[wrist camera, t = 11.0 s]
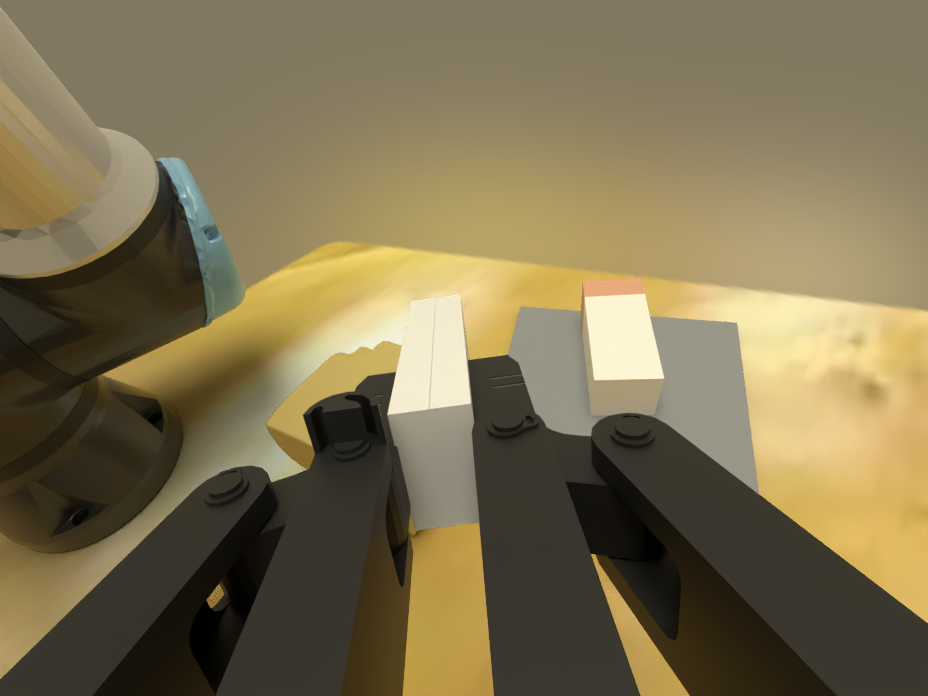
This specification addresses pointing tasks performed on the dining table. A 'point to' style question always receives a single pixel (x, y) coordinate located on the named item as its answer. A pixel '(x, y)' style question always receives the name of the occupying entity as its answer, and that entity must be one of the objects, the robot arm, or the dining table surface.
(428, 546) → the dining table surface
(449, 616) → the dining table surface
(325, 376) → the cheese
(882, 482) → the dining table surface
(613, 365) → the tall block
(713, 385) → the slate mat
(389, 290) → the dining table surface
